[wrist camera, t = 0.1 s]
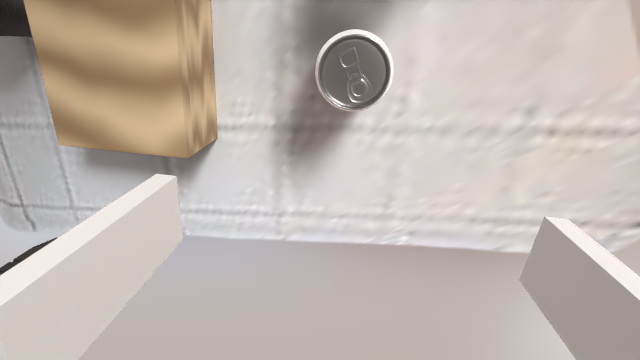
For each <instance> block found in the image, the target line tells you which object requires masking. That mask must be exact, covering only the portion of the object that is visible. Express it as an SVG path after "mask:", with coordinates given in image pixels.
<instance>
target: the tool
mask: <svg viewBox="0 0 640 360" xmlns="http://www.w3.org/2000/svg"><path fill="white" fill-rule="evenodd" d="M0 36H26V37H32V33H31V29H30V25H29V21H28V17H27V13H26V9H25V5H24V1H23V0H0Z"/></svg>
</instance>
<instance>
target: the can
mask: <svg viewBox="0 0 640 360" xmlns="http://www.w3.org/2000/svg"><path fill="white" fill-rule="evenodd" d="M315 77H316V82H317V86H318V88H319V90H320V92H321V94H322V95H323V97H324V98H325V99H326V100H327V101H328V102H329V103H330V104H331V105H333V106H334V107H336V108H338V109H341V110H345V111H361V110H365V109H368V108H370V107H372V106H373V105H375V104H376V103H378V102H379V101H380V100H381V99H382V98H383V97H384V95H385V94H386V93H387V91H388V89H389V87H390V85H391V82H392V78H393V60H392V56H391V54H390V51H389V49H388V48H387V46H386V45H385V43H384V42H383V41H382V40H381V39H380V38H379V37H377V36H376V35H374V34H373V33H371V32H368V31H365V30H359V29H352V30H346V31H343V32H340V33H338V34H336V35H335V36H333V37H332V38H331V39H330V40H328V41H327V42H326V44H325V45H324V46H323V48H322V49H321V51H320V53H319V55H318V58H317V61H316V66H315Z"/></svg>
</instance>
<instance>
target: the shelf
mask: <svg viewBox="0 0 640 360" xmlns="http://www.w3.org/2000/svg"><path fill="white" fill-rule="evenodd" d="M23 1H24V5H25V9H26V13H27V17H28V21H29V25H30V29H31V33H32V37H33V41H34V45H35V49H36V53H37V57H38V61H39V65H40V69H41V73H42V77H43V81H44V85H45V90H46V94H47V98H48V102H49V106H50V110H51V114H52V118H53V122H54V126H55V130H56V134H57V138H58V142H59V145H63V146H73V147H82V148H92V149H101V150H111V151H120V152H130V153H140V154H149V155H159V156H168V157H178V158H187V159H188V158H189V157H191V156H192V155H194V154H195V153H197V152H198V151H200V150H201V149H203V148H204V147H205V146H207V145H208V144H210V143H211V142H213V141H214V140H216V139H217V118H216V98H215V78H214V57H213V37H212V16H211V0H23Z"/></svg>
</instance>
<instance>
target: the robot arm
mask: <svg viewBox="0 0 640 360" xmlns="http://www.w3.org/2000/svg"><path fill="white" fill-rule="evenodd" d="M182 240H183V235H182V225H181V215H180V205H179V196H178V186H177V176H172V175H163V174H155V175H154V176H152V177H151V178H149V179H148V180H146V181H144V182H143V183H141V184H140V185H138V186H137V187H135V188H134V189H132V190H131V191H129V192H128V193H126V194H125V195H123V196H121V197H120V198H118V199H117V200H115V201H114V202H112V203H111V204H109V205H108V206H106V207H105V208H103V209H102V210H100V211H98V212H97V213H95V214H94V215H92V216H91V217H89V218H88V219H86V220H85V221H83V222H82V223H80V224H79V225H77V226H75V227H74V228H72V229H71V230H69V231H68V232H66V233H65V234H63V235H62V236H60V237H59V238H54V239H52V240H50V241H47V242H45V243H42V244H40V245H37V246H35V247H33V248H31V249H29V250H28V251H26V252H25V253H23V254H22V255H20V256H18V257H17V258H15V259H14V261H13V262H9V263H7V264H6V265H4V266H3V267H1V268H0V360H78V359H79V358H80V357H81V356H82V355H83V354H84V352H85V351H86V350H87V349H88V348H89V347H90V346H91V344H92V343H93V342H94V341H95V340H96V338H97V337H98V336H99V335H100V334H101V333H102V332H103V331H104V329H105V328H106V327H107V326H108V325H109V324H110V322H111V321H112V320H113V319H114V318H115V317H116V316H117V315H118V313H119V312H120V311H121V310H122V309H123V308H124V307H125V305H126V304H127V303H128V302H129V301H130V300H131V299H132V297H133V296H134V295H135V294H136V293H137V292H138V290H139V289H140V288H141V287H142V286H143V285H144V284H145V283H146V281H147V280H148V279H149V278H150V277H151V275H152V274H153V273H154V272H155V271H156V270H157V269H158V268H159V266H160V265H161V264H162V263H163V262H164V261H165V260H166V258H167V257H168V256H169V255H170V254H171V253H172V252H173V250H174V249H175V248H176V247H177V246H178V245H179V243H180V242H181V241H182ZM519 281H520V282H521V283H522V285H523V286H524V287H525V289H526V290H527V292H528V293H529V294H530V296H531V297H532V299H533V300H534V301H535V303H536V304H537V305H538V307H539V308H540V310H541V311H542V313H543V314H544V315H545V317H546V318H547V320H548V321H549V322H550V324H551V325H552V326H553V328H554V329H555V331H556V332H557V334H558V335H559V336H560V338H561V339H562V340H563V342H564V343H565V345H566V346H567V347H568V349H569V350H570V352H571V353H572V354H573V355H574V357H575V359H576V360H640V277H639V276H638V275H637V274H636V273H634V272H633V271H632V270H631V269H629V268H628V267H627V266H626V265H624V264H623V263H622V262H621V261H619V260H618V259H617V258H616V257H614V256H613V255H612V254H611V253H609V252H608V251H607V250H606V249H604V248H603V247H602V246H601V245H599V244H598V243H597V242H596V241H594V240H593V239H592V238H591V237H589V236H588V235H587V234H586V233H584V232H583V231H582V230H581V229H579V228H578V227H577V226H576V225H574V224H573V223H572V222H571V221H569V220H568V219H562V218H553V217H544V219H543V222H542V224H541V227H540V229H539V232H538V234H537V237H536V239H535V242H534V244H533V247H532V249H531V252H530V254H529V257H528V260H527V262H526V264H525V267H524V269H523V272H522V274H521V277H520V280H519Z"/></svg>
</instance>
